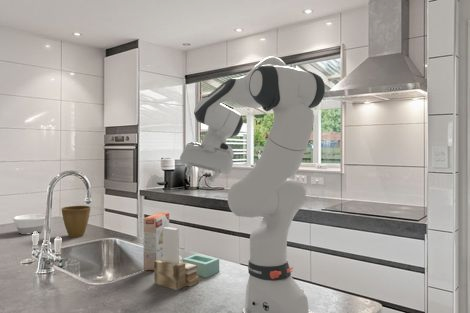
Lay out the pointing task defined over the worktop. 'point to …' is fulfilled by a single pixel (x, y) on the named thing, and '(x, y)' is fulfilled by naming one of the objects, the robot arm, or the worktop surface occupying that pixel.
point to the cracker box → (154, 238)
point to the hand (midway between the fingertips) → (199, 178)
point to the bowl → (30, 223)
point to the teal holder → (203, 264)
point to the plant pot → (76, 219)
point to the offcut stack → (190, 274)
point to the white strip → (171, 245)
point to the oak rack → (169, 274)
